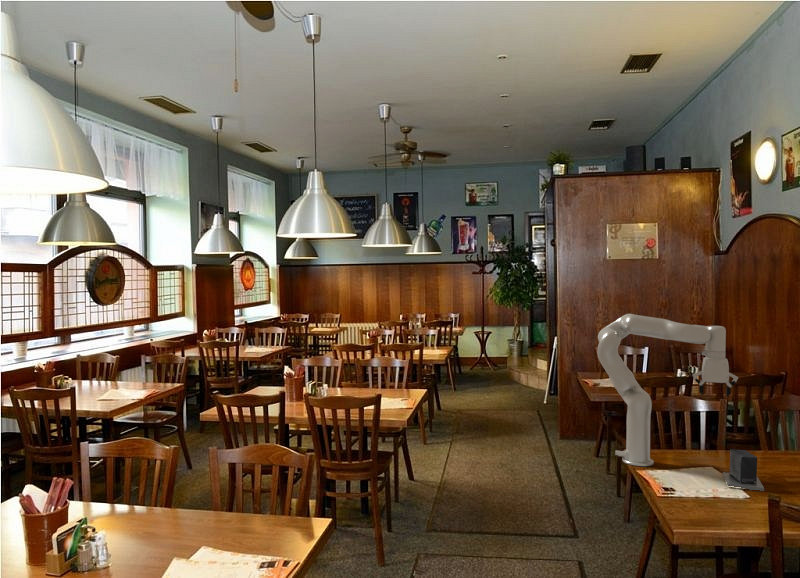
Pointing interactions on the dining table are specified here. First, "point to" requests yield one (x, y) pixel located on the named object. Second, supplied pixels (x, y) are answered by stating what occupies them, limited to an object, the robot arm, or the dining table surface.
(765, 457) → the dining table surface
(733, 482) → the slate board
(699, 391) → the robot arm
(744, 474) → the small box
